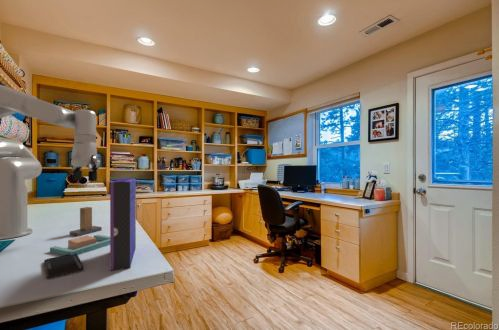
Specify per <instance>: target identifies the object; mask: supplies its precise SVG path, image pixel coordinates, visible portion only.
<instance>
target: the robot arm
mask: <svg viewBox="0 0 499 330" xmlns="http://www.w3.org/2000/svg"><path fill="white" fill-rule="evenodd" d="M17 113H18V114H21V115H24V116H25V117H30V118H33V119H36V120H39V121H42V122H45V123H48V124H50V125H55V126H58V127H63V128H67V129H74V135H73V138H74V139H73V141H74V142H73V145H72V152H71V160H70V164H71V169H72V173H73V174H72V180H73V181H81V180H82V179H83V178H82V177H83V171H82V168H84V167H87V168H88V170H89V171H88V176H87V178H88V182H97V181H98V171H99V168H100V164H101V160H100V159H99V158H98V149H97V114H96V112H95V111H94V110H91V109H85V108H81V109H80V108H79V109H76V110H75V111H74V110H71V109H68V108H66V107H62V106H60V105H56V104H54V103H51V102H48V101H45V100H42V99H39V98H38V97H36V96H35V95H31V94H30V93H29V94H28V93H26V92H22V91H21V90H17V89H14V88H12V87H9V86H6V85H2V84H0V119H2V118H6V117H8V116H12V115H14V114H17ZM42 171H43V167H42V164H41V162H40V161H39V160H38V158H36V156H35V155H34V154H33V153H32V152H31V151H30V150H29V149H28V148H27V147H26V145H24V144H23V143H21V142H20V141H18V140H16V139H12V138H6V137H2V136H0V240H5V239H6V240H8V239H14V238H20V237H24V236H27V235H30V234H32V233H33V229H32V228H29V227H28V188H27V187H28V186H27V184H26V183H25V180H32V179H36V178H38V177H39V176H40V175H41V173H42Z"/></svg>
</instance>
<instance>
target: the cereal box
mask: <svg viewBox="0 0 499 330" xmlns="http://www.w3.org/2000/svg"><path fill="white" fill-rule="evenodd" d="M136 183H137V181H136V178H132V177H131V178H129V177H128V178H119V179H116V180H114V181H110V183H109V184H110V187H109V188H110V191H109V193H110V194H109V195H110V197H109V198H110V199H109V200H110V201H109V203H110V205H109V207H110V209H109V210H110V212H109V213H110V214H109V215H110V217H109V219H110V220H109V223H110V224H109V226H110V229H109V233H110V235H109V237H110V245H109V249H110V250H109V251H110V253H109V257H110V258H109V259H110V260H109V265H110V266H109V267H110V269H109V270H110V272H112V271H118V270H125V269H126V270H127V269H131V266H132V262H133V259H134V255H135V251H136V246H137V245H136V243H137V242H136V239H137V238H136V237H137V236H136V231H137V228H136V226H137V224H136V222H137V221H136V218H137V217H136V215H137V214H136V212H137V210H136V208H137V207H136V206H137V205H136V204H137V203H136V202H137V200H136V199H137V198H136V197H137V196H136V190H137V188H136V186H137V184H136Z"/></svg>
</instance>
